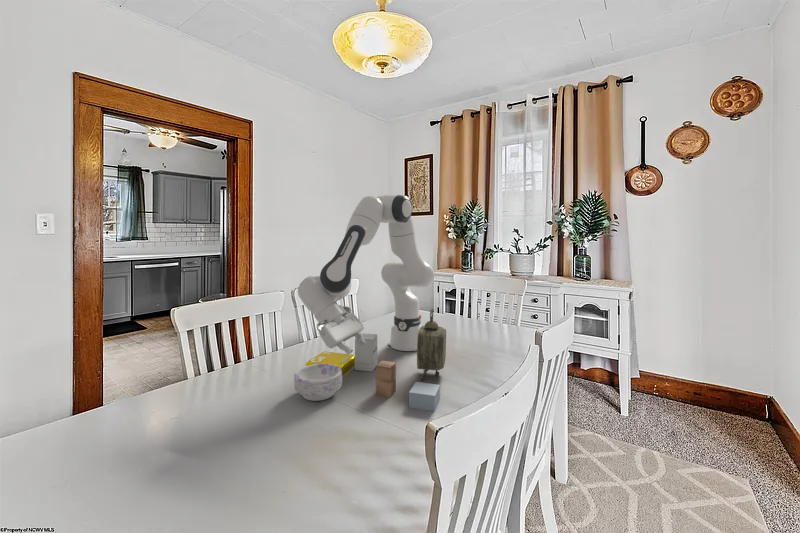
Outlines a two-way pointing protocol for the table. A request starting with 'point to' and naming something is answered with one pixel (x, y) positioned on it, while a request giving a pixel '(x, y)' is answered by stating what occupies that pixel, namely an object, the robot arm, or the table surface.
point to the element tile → (334, 360)
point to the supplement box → (366, 353)
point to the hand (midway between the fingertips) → (357, 348)
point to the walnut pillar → (385, 378)
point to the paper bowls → (318, 381)
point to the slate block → (424, 396)
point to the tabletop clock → (431, 347)
